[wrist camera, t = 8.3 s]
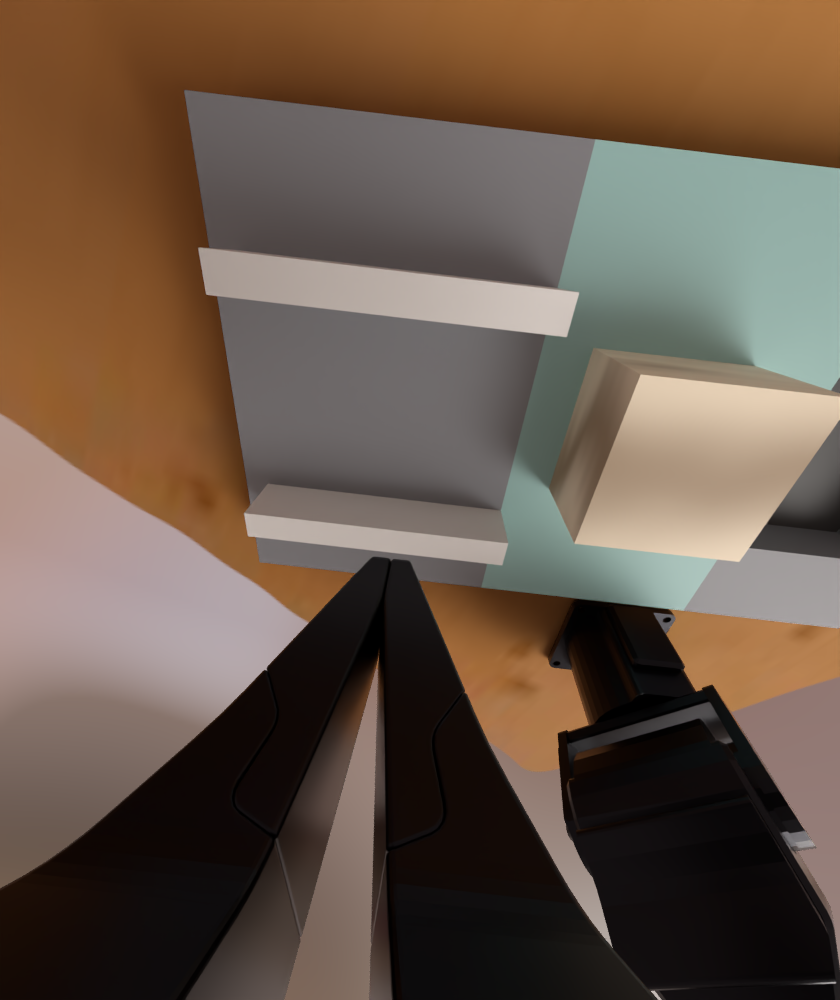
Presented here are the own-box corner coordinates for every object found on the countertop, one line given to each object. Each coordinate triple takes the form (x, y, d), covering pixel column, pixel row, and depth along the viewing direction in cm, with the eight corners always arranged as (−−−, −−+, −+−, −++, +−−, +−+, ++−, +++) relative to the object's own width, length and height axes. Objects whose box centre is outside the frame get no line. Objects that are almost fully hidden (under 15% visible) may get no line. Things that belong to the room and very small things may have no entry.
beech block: (681, 503, 17) (739, 562, 14) (548, 488, 17) (574, 543, 14) (755, 365, 14) (854, 398, 11) (593, 347, 14) (640, 374, 11)
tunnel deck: (795, 588, 23) (883, 670, 19) (280, 529, 23) (238, 596, 18) (1105, 226, 14) (1445, 207, 9) (233, 123, 14) (121, 47, 9)
